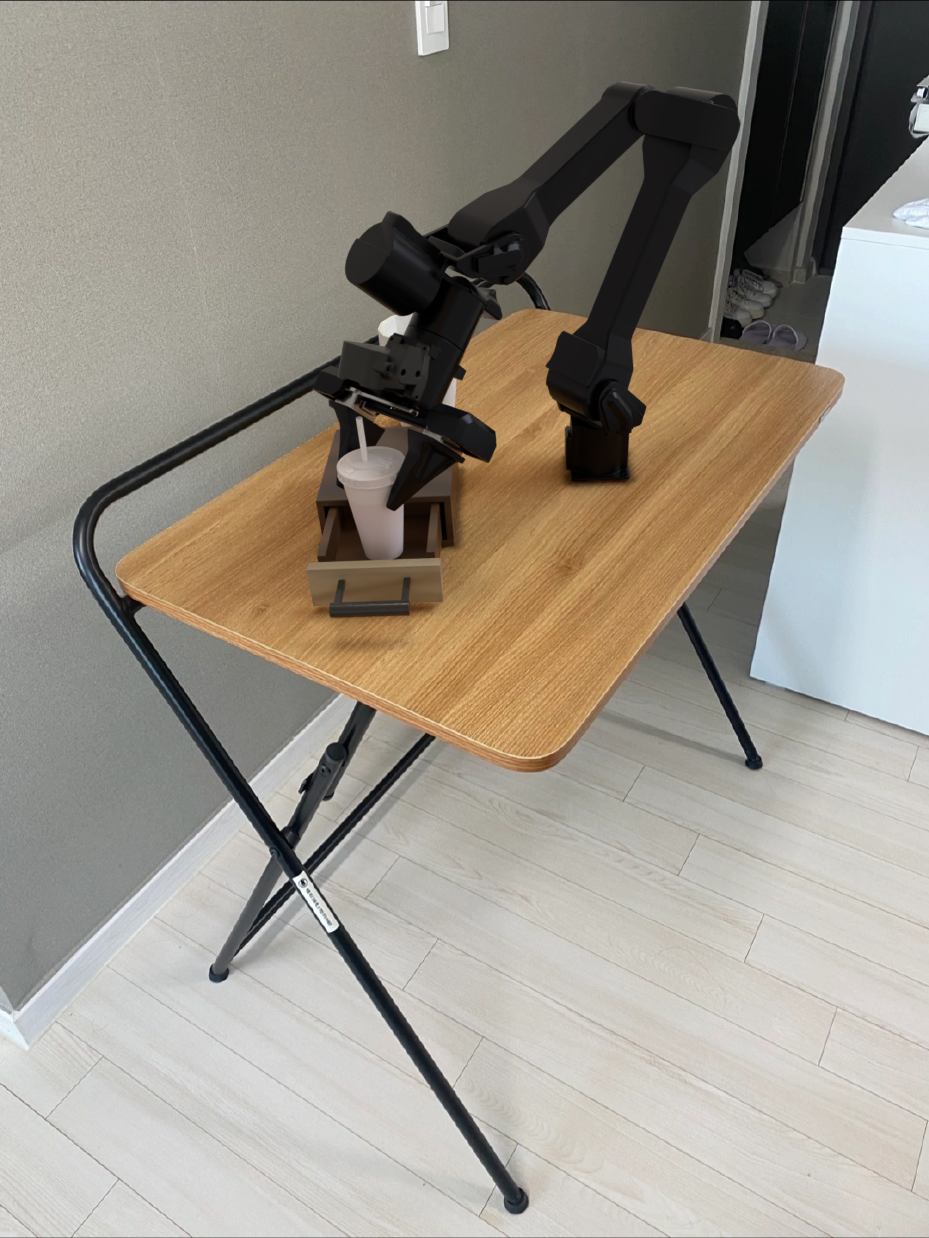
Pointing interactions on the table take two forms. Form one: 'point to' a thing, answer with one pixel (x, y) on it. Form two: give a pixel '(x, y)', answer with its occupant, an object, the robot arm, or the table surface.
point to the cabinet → (434, 491)
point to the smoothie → (373, 496)
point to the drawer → (378, 566)
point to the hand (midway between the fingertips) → (364, 498)
